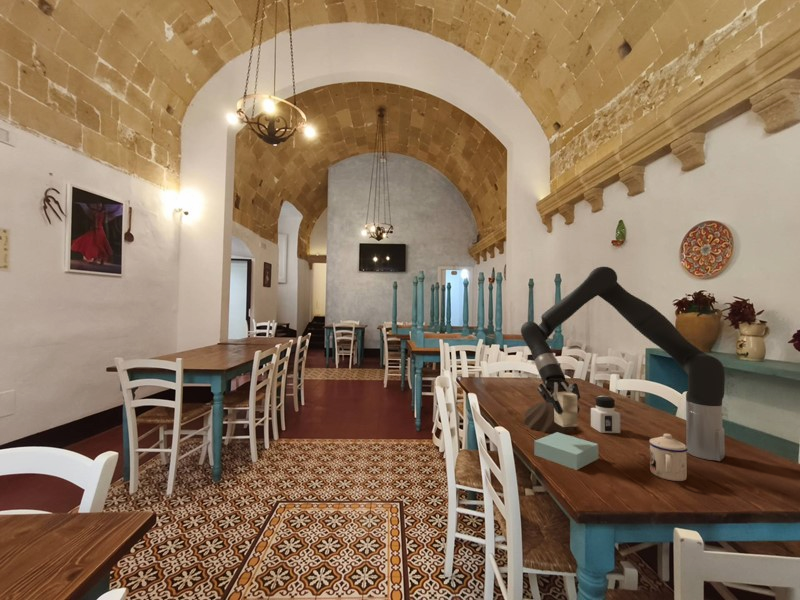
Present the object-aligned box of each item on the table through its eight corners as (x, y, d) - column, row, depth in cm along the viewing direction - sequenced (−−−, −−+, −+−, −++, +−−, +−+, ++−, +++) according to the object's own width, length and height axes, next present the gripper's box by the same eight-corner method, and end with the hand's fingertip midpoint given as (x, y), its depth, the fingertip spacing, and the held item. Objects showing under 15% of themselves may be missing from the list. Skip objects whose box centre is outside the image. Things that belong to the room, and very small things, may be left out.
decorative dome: (517, 428, 147) (517, 403, 148) (530, 416, 164) (530, 393, 164) (569, 438, 137) (569, 411, 137) (577, 424, 153) (577, 400, 153)
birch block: (568, 421, 122) (568, 391, 122) (577, 426, 117) (577, 395, 117) (554, 421, 122) (554, 391, 122) (562, 426, 117) (562, 395, 117)
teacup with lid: (649, 465, 113) (649, 427, 113) (686, 473, 108) (686, 433, 108) (648, 480, 103) (648, 438, 103) (689, 489, 98) (689, 445, 98)
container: (620, 433, 142) (620, 399, 142) (600, 433, 142) (600, 399, 142) (609, 426, 149) (609, 394, 149) (590, 426, 149) (590, 394, 150)
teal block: (598, 459, 118) (598, 444, 118) (576, 471, 109) (576, 454, 109) (557, 446, 129) (557, 432, 129) (534, 456, 120) (534, 440, 120)
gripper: (533, 362, 126) (552, 407, 114) (572, 362, 128) (595, 406, 116) (526, 375, 131) (543, 419, 119) (563, 374, 133) (584, 418, 121)
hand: (569, 412), depth 118 cm, fingers closed on birch block, 5 cm apart
